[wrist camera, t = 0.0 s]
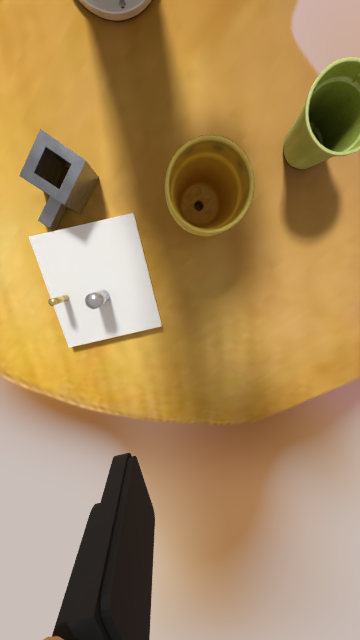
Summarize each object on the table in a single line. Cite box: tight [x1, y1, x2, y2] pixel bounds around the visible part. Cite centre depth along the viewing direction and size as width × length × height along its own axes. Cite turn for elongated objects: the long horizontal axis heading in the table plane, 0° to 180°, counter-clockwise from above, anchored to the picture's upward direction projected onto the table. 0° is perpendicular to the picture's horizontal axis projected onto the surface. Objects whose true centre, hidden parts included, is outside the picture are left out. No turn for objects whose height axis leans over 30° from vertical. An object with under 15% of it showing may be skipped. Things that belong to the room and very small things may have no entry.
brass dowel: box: [48, 295, 69, 306], centre depth 34 cm, size 1×1×4 cm
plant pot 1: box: [165, 135, 254, 236], centre depth 30 cm, size 10×10×10 cm
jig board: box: [29, 213, 162, 347], centre depth 36 cm, size 18×16×1 cm
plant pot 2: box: [283, 57, 360, 169], centre depth 30 cm, size 9×9×9 cm
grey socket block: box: [20, 129, 99, 230], centre depth 31 cm, size 10×6×6 cm, turn 148°
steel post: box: [85, 290, 110, 309], centre depth 34 cm, size 2×2×5 cm
